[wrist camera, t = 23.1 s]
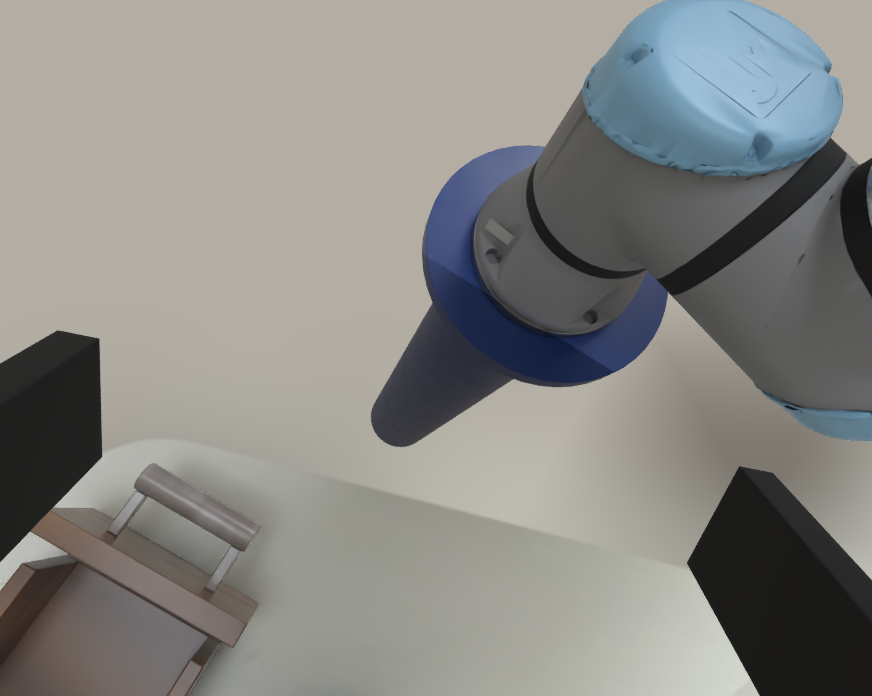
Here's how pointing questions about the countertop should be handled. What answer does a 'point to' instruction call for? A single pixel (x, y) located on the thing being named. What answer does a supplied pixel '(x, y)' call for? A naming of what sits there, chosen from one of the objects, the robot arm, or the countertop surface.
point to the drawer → (121, 602)
